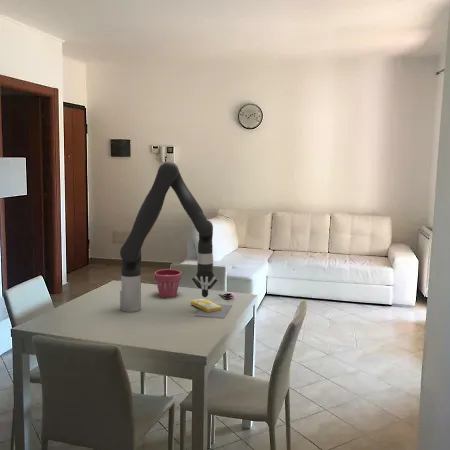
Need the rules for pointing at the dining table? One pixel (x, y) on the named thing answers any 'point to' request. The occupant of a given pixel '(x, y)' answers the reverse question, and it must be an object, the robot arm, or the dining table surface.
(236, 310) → the dining table surface
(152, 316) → the dining table surface
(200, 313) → the mat
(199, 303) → the candy box
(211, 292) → the dining table surface
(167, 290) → the plant pot
